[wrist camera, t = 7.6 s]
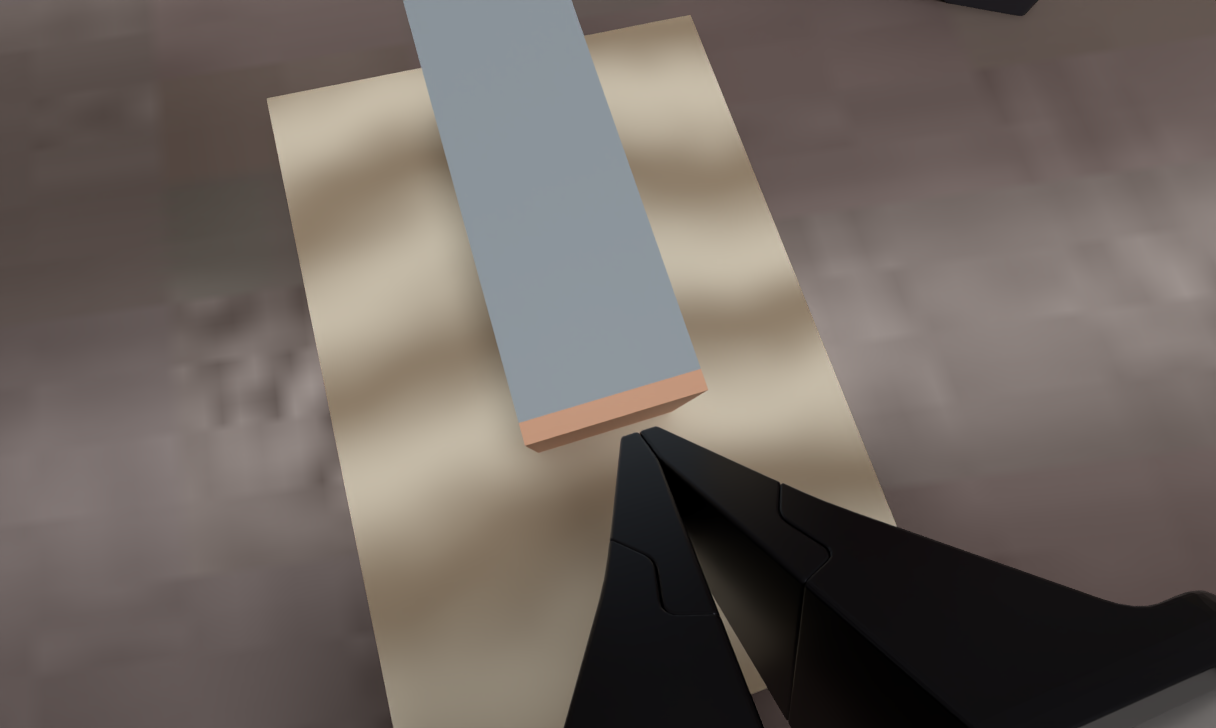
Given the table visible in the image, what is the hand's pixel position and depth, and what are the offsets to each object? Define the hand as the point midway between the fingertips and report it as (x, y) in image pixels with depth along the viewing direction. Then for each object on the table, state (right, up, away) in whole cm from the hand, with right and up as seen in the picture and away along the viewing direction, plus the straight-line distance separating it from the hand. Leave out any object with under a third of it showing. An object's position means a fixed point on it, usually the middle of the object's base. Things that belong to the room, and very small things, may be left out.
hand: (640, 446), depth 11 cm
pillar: (-1, 0, +4) cm, 5 cm away
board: (-2, +2, +9) cm, 9 cm away
